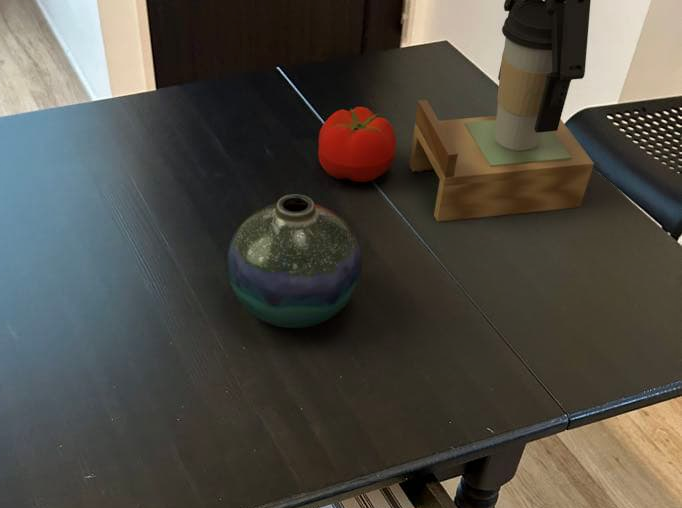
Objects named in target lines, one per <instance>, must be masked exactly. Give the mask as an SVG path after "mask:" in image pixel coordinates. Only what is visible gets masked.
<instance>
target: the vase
mask: <svg viewBox="0 0 682 508" xmlns="http://www.w3.org/2000/svg"><path fill="white" fill-rule="evenodd" d="M360 245H361V244H360V243H359V239H358V237H357V235H356V233H355V231H354V229H353V228H352V227H351V226H350V225H349V224H348V222H347V221H346V220H345V219H344V218H342V217H341V216H340V215H339V214H338V213H336V212H334V211H332V210H331V209H329V208H327V207H325V206H323V205H319V204H317V203H315V202H314V201H313V200H312V198H310V197H309V196H306V195H304V194H299V193H292V194H286V195H284V196H281V197H280V199H278V201H277V202H275V203H271V204H269V205H267V206H264V207H262V208H260V209H258V210H255V212H253V213H251V214H250V215H249V216H247V217H246V218H245V219H244V220H243V221H242V222H241V223H240V224H239V225H238V227H237V228H236V230H235V231H234V233H233V234H232V236H231V239H230V242H229V245H228V248H227V254H226V255H227V256H226V269H227V276H228V280H229V283H230V285H231V289H232V290H233V294H234V295H235V296H236V297H237V299H238V301H239V303H240V304H241V305H242V306H243V307H244V308H245V310H247V311H248V312H249V314H251V315H252V316H254V317H255V318H256V319H259V320H260V321H262V322H263V323H266V324H268V325H271V326H274V327H275V326H276V327H279V328H286V329H301V328H302V329H303V328H309V327H313V326H318V325H320V324H322V323H324V322H326V321H328V320H331V318H333V317H335V316H337V314H339V313H340V312H341V310H343V309H344V308H345V307H346V305H347V304H348V303H349V301H350V300H351V299H352V298H353V296H354V293H355V292H356V289H357V287H358V285H359V282H360V278H361V272H362V266H363V259H362V258H363V255H362V249H361V246H360Z"/></svg>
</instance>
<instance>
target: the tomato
mask: <svg viewBox="0 0 682 508" xmlns="http://www.w3.org/2000/svg"><path fill="white" fill-rule="evenodd" d="M379 115H380V113H377V114H375V113H373V112H372V111H371V110H370V109H369V108H367V107H364V106H356V107H354V108H353V109H352V108H351V107H350V108H349V110H347V109H339V110H337V111H335V112H333V113H332V114H331V115H330V116H329V117H328V118H327V119H326V120H325V122H324V123H323V125H322V126H321V128H320V130H319V135H318V161H319V163H320V166H321V168H323V169H324V171H325V172H326V174H328V175H329V176H331V177H333V178H335V179H336V180H347V179H348V180H350V181H352V182H355V183H356V182H357V183H367V182H370V181H373V180H375V179H376V178H379V177H380V176H382V175H384V174H385V173H386V172H387V171H388V170H389V169H390V168H391V166H392V165H393V163H394V159H395V155H396V154H395V153H396V150H397V137H396V134H395V131H394V128H393V127H392V125H391V124H390V122H389V121H388V120H387V118H384V117H381V116H379ZM378 116H379V117H378Z"/></svg>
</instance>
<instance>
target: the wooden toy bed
mask: <svg viewBox="0 0 682 508" xmlns="http://www.w3.org/2000/svg"><path fill="white" fill-rule="evenodd" d="M496 118H497V115H489V116H477V117H476V116H475V117H467V118H455V119H443V120H439V119H438V117H437V115H436V113H435V112H434V110H433V107H431V105H430V103H429V101H428V100H427V99H419V100H418V101H417V107H416V113H415V122H414V129H413V135H412V136H413V137H412V142H411V143H412V145H411V152H410V158H409V165H408V167H409V168H410V170H411V172H412V173H415V171H417V172H425V171H424V170H428V171H432V170H431V169H434V170H433V171H435V173H436V175H437V178H438V179H439V182H438V188H437V195H436V201H435V206H434V212H433V216H434V218H435V220H436V222H437V223H439V222H440V223H441V222H450V221H457V220H458V221H459V220H468V219H478V218H479V219H480V218H489V217H498V216H508V215H517V214H527V213H529V214H530V213H537V212H547V211H557V210H567V209H577V208H581V205H582V202H583V199H584V196H585V193H586V190H587V186H588V183H589V180H590V177H591V175H592V171H593V168H594V165H595V163H594V161H593V160H592V159H591V158H590V156H589V155H588V153H587V152H586V151H585V150H584V148H583V147H582V146H581V144H580V142H578V140H577V139H576V137H575V136H574V135H573V133H572V132H571V131H570V129H569V128H568V127H567V126H566V124H565V122H563V120H562V119H560V122H559V126H558V130H557V131H549V132H543V134H542V137H541V140H540V142H539V144H538V146H536V147H535V148H533V149H529V150H525V151H515V150H510V149H507V148H504V147H502V146H501V145H499V144H498V143H497V142H496V140H495V127H496ZM422 170H423V171H422Z"/></svg>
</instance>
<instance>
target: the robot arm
mask: <svg viewBox="0 0 682 508" xmlns="http://www.w3.org/2000/svg"><path fill="white" fill-rule="evenodd" d="M529 1H545V3H546V12H547V14H548V15H550V17H551V44H552V72H551V73H549V74H548V75H546V77H547V80H546V84H545V88H544V92H543V96H542V100H541V104H540V108H539V112H538V116H537V120H536V124H535V128H534V130H535V132H536V133H539V132H549V131H557V130H558V126H559V122H560V119H561V118H562V115H563V111H564V108H565V104H566V101H567V95H568V92H569V89H570V85H571V82H572V81H573V80H583V79H584V77H585V75H586V63H587V52H588V51H587V50H588V40H589V27H590V13H591V1H592V0H504V4H503V9H504V12H508V13H507V17H508V16H509V15H511V14H512V11H513V9H514V8H515V7H516V6H517V5H519V4H521V3H524V2H529ZM501 62H502V60H501ZM501 62H500V63H501ZM500 71H501V65H500V67H499V71H498V77H497V79H498V81H499V80H500ZM561 120H562V119H561Z"/></svg>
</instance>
